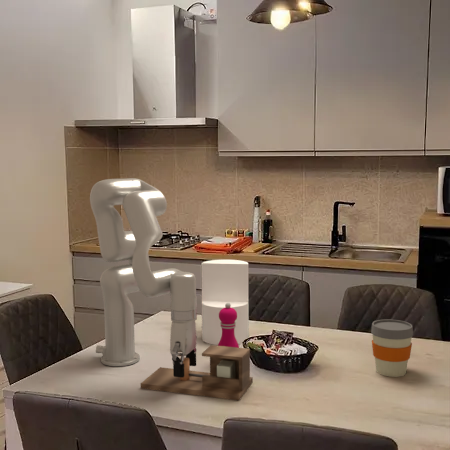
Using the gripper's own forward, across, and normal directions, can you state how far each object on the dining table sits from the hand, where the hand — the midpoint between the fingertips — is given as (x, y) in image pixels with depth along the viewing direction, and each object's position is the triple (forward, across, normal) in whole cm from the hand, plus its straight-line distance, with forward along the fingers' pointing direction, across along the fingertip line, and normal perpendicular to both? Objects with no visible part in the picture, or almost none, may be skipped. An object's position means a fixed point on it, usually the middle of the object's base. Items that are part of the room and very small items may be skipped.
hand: (185, 371), depth 179 cm
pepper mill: (+4, -21, +7) cm, 23 cm away
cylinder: (+4, -46, -2) cm, 46 cm away
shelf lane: (+4, 0, +4) cm, 5 cm away
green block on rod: (+3, 0, +6) cm, 7 cm away
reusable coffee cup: (+5, -28, +58) cm, 64 cm away
